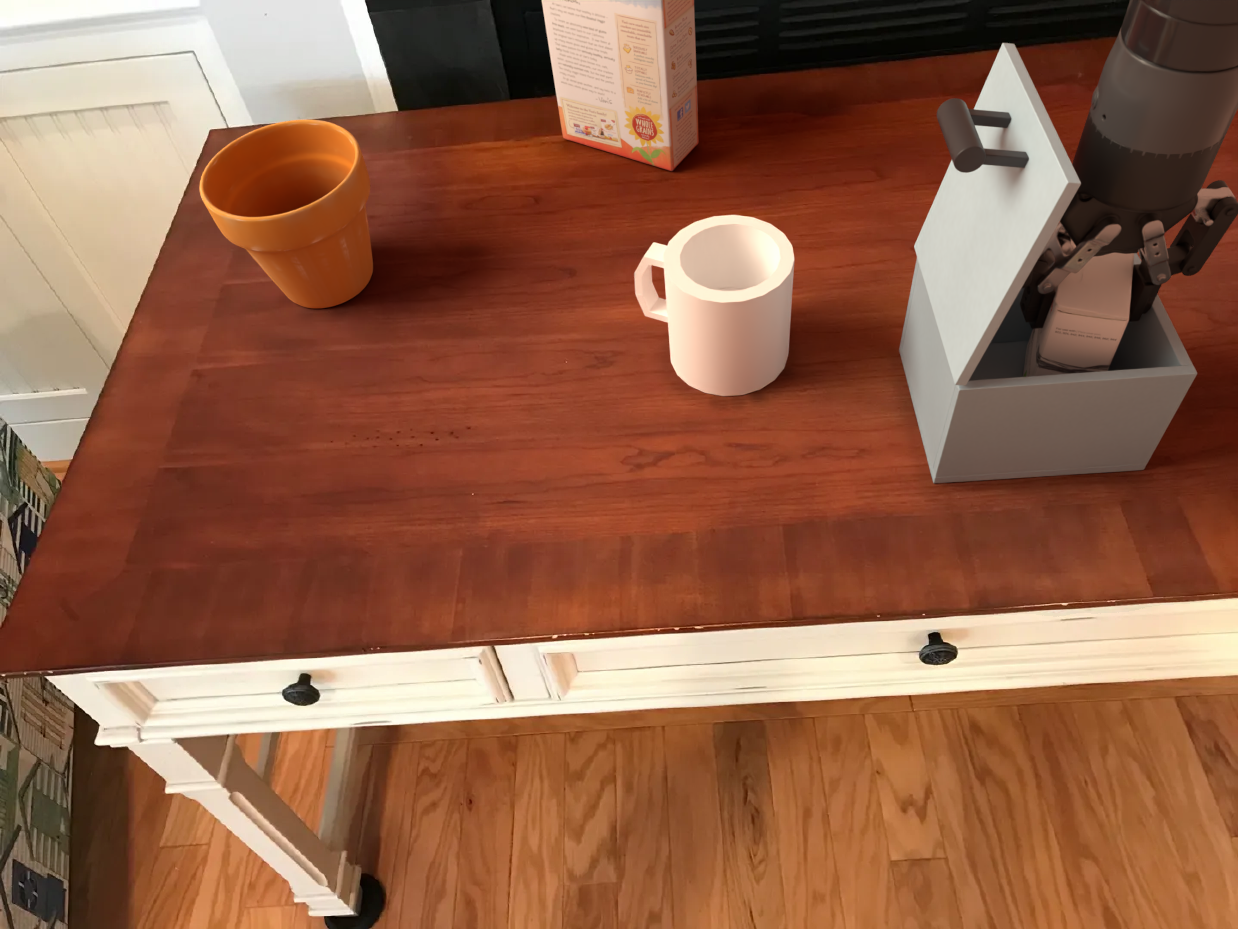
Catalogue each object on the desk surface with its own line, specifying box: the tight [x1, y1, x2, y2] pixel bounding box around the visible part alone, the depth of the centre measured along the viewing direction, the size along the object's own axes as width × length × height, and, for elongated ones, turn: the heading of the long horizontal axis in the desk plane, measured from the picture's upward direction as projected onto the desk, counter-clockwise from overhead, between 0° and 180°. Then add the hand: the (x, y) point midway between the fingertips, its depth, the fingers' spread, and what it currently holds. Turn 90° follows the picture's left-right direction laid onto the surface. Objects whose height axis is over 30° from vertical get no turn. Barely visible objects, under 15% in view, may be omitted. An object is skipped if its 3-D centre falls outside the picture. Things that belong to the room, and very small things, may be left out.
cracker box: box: [541, 0, 700, 172], centre depth 96 cm, size 14×6×21 cm, turn 57°
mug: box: [633, 214, 795, 397], centre depth 81 cm, size 14×10×11 cm
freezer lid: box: [913, 42, 1081, 385], centre depth 63 cm, size 16×14×5 cm
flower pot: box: [198, 119, 374, 309], centre depth 91 cm, size 14×14×13 cm
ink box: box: [1023, 239, 1134, 377], centre depth 72 cm, size 9×5×12 cm, turn 160°
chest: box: [898, 253, 1198, 484], centre depth 74 cm, size 16×14×11 cm
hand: (1080, 316), depth 71 cm, fingers closed on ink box, 6 cm apart
